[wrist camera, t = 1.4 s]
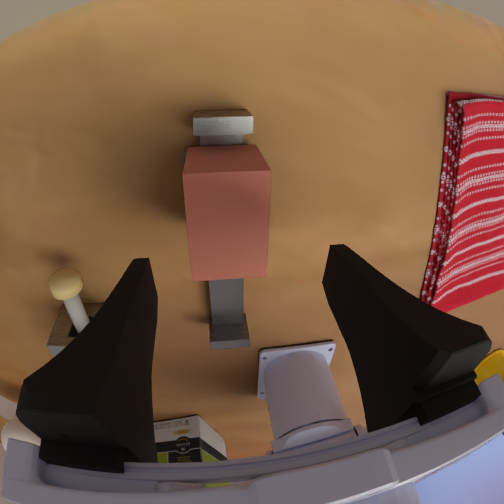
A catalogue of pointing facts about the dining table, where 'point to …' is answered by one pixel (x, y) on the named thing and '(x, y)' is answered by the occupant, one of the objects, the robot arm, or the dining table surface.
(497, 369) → the stacking cups
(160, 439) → the tea box
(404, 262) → the dining table surface
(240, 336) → the rail
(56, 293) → the plunger
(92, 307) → the grey block with hole
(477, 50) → the dining table surface
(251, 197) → the block
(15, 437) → the lightbulb
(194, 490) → the robot arm
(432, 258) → the dish towel
